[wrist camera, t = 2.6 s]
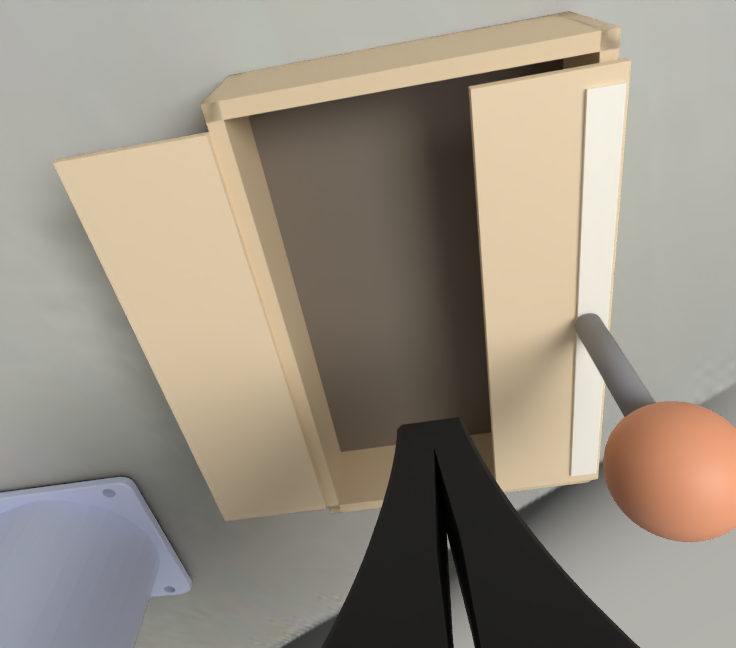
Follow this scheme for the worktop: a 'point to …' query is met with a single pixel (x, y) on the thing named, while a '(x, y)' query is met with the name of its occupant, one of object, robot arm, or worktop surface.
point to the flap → (577, 310)
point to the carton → (317, 260)
